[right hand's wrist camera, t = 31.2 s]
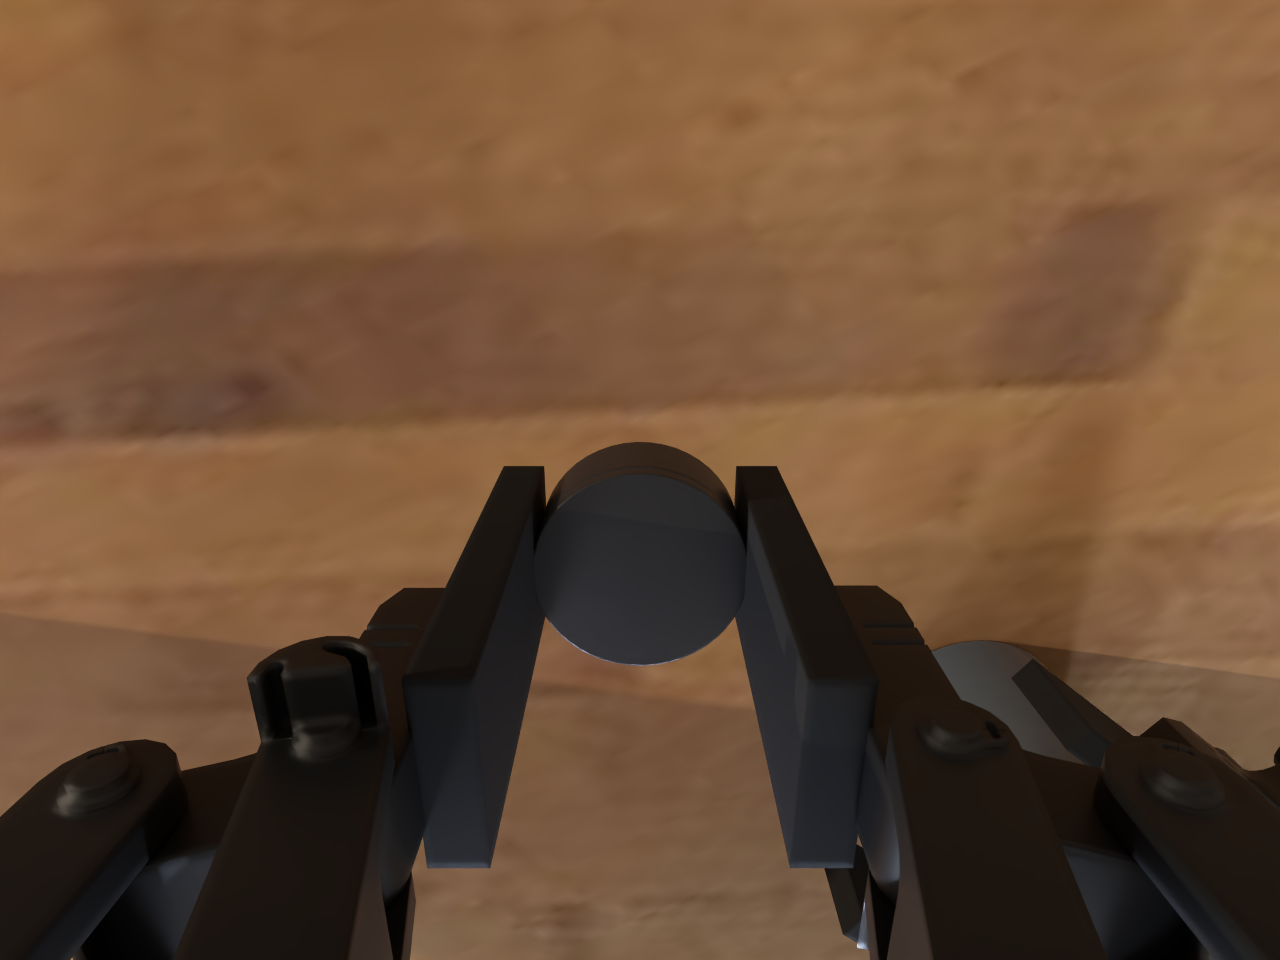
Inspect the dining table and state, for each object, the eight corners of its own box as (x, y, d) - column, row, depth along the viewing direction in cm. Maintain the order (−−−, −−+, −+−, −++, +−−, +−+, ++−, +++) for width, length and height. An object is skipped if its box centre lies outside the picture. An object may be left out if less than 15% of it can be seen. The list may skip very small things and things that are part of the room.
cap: (693, 639, 15) (699, 691, 14) (518, 582, 15) (504, 629, 13) (769, 480, 14) (785, 517, 12) (580, 412, 14) (572, 442, 12)
